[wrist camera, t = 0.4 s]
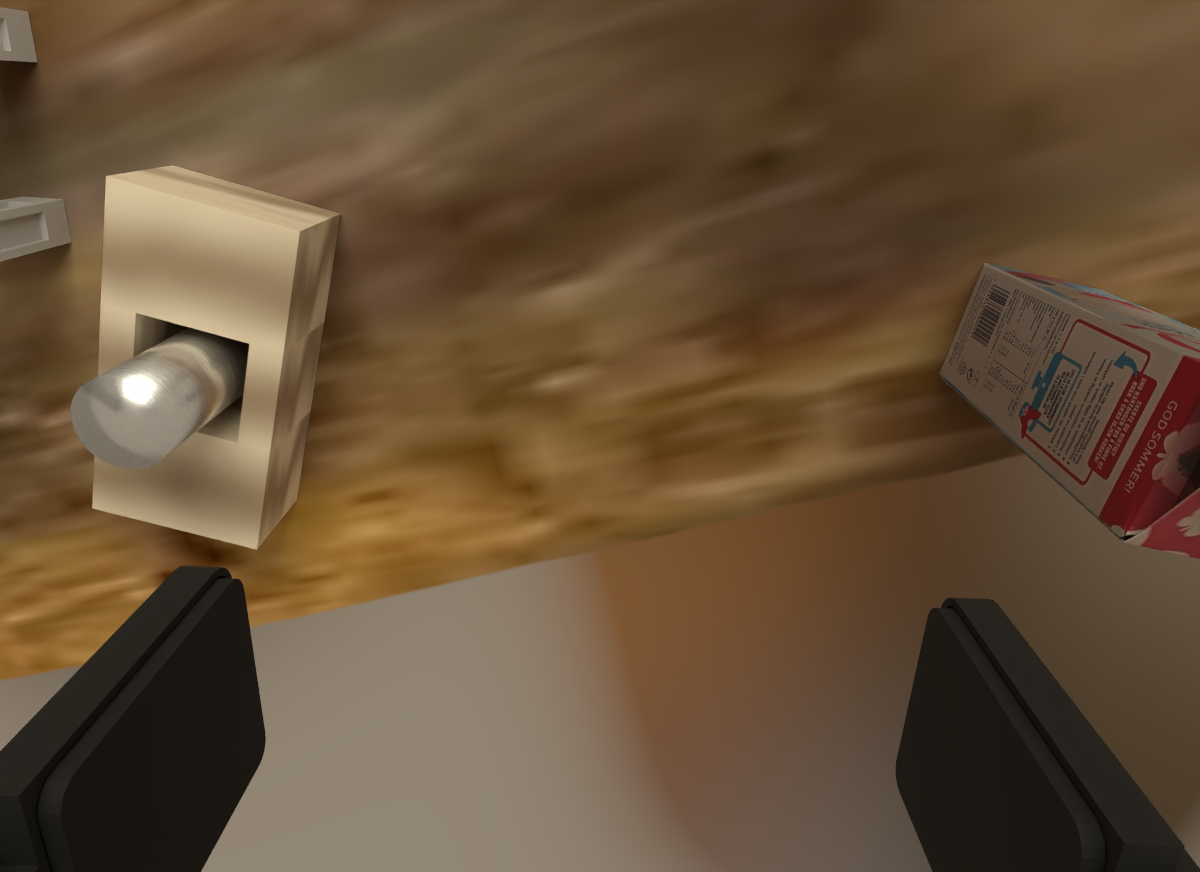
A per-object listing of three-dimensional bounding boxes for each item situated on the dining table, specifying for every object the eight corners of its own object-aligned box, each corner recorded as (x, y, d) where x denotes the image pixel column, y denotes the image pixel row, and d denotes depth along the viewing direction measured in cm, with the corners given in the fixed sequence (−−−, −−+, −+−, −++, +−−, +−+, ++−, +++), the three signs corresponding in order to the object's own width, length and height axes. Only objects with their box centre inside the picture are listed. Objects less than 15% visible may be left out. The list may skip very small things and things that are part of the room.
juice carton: (984, 262, 44) (1294, 407, 24) (1101, 289, 44) (1503, 456, 24) (938, 376, 46) (1181, 595, 26) (1048, 401, 47) (1372, 636, 27)
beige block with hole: (172, 165, 43) (106, 176, 38) (340, 213, 44) (299, 231, 38) (151, 462, 50) (92, 508, 44) (296, 499, 51) (256, 549, 45)
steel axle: (205, 299, 46) (71, 364, 35) (282, 320, 46) (175, 392, 35) (198, 370, 48) (69, 454, 36) (273, 390, 48) (167, 480, 37)
